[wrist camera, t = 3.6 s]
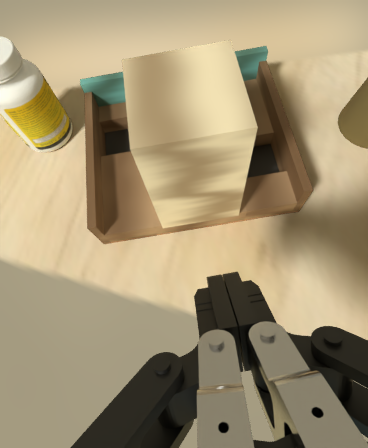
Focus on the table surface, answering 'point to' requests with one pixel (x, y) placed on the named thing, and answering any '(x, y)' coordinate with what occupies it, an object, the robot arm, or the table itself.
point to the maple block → (190, 131)
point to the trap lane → (133, 183)
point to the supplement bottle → (30, 102)
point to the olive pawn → (356, 118)
